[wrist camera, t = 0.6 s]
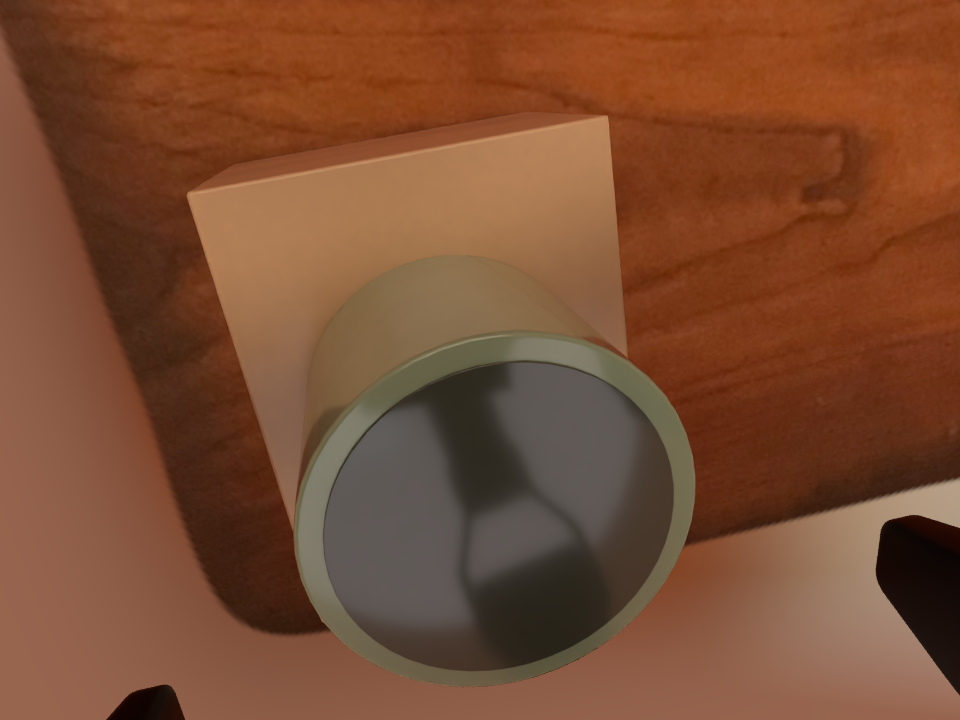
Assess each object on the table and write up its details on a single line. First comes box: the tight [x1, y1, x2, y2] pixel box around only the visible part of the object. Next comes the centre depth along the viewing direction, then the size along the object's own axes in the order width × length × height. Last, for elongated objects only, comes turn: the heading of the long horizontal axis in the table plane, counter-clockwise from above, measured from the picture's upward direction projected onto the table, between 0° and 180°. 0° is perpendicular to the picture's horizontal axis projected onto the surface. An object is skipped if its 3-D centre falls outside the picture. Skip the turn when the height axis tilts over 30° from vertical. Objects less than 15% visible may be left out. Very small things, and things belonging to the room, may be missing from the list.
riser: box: [187, 112, 628, 622], centre depth 17 cm, size 10×8×6 cm
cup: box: [293, 255, 695, 687], centre depth 12 cm, size 6×6×5 cm
